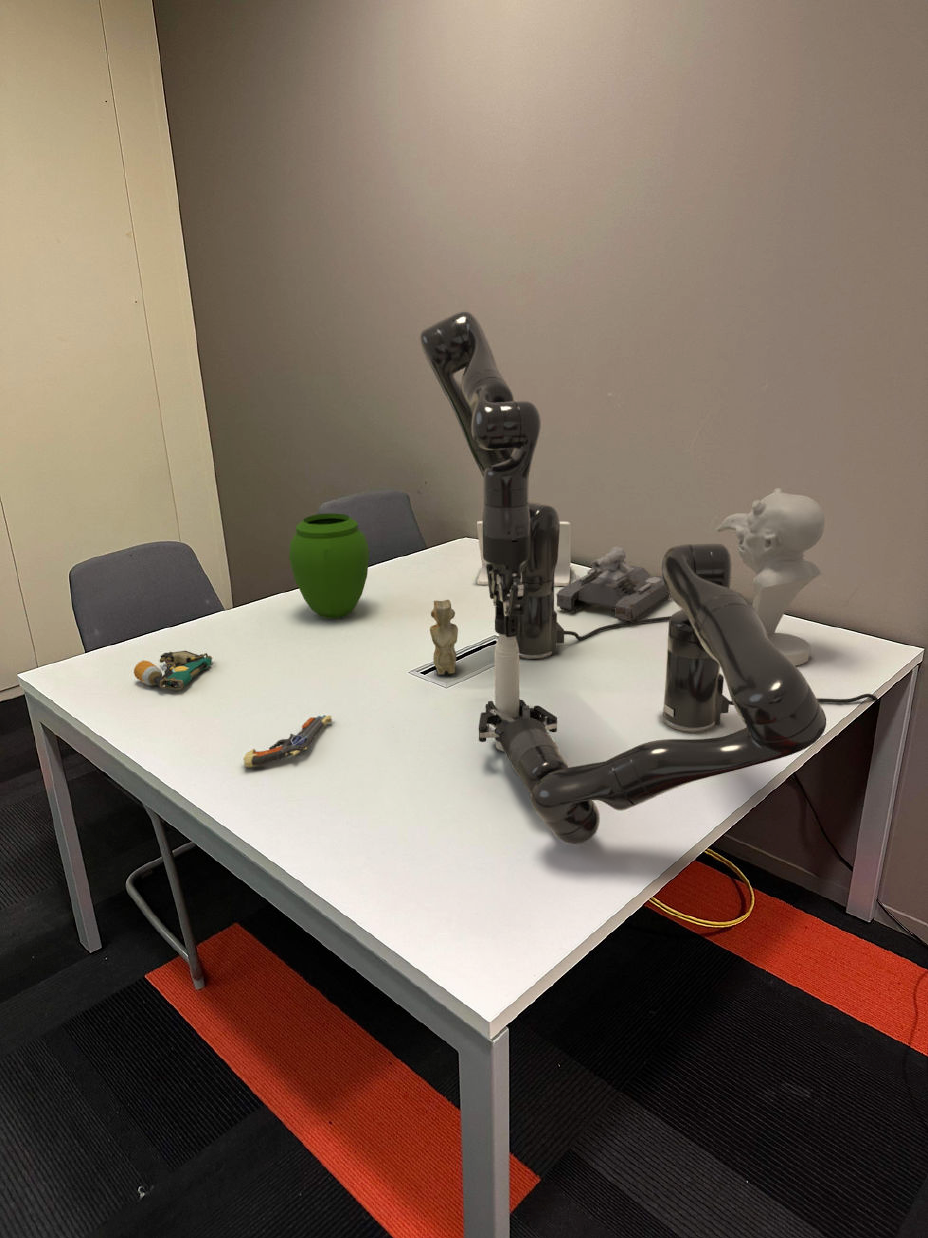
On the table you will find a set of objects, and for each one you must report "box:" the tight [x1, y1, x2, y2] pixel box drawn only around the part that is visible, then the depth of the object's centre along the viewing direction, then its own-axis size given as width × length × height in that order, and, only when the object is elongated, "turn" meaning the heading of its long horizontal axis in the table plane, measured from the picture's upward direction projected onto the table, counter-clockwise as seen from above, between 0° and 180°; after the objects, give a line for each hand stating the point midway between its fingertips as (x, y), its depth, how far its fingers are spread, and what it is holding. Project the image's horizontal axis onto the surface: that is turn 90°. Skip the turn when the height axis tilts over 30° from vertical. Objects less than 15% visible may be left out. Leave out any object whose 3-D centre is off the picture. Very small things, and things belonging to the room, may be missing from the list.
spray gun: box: [133, 650, 213, 690], centre depth 180 cm, size 4×17×15 cm
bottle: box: [494, 634, 520, 752], centre depth 145 cm, size 4×4×24 cm
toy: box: [556, 546, 671, 623], centre depth 212 cm, size 25×20×15 cm
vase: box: [288, 512, 370, 620], centre depth 209 cm, size 20×20×24 cm
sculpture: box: [429, 599, 459, 675], centre depth 177 cm, size 6×7×15 cm
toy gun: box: [243, 714, 333, 769], centre depth 151 cm, size 3×19×10 cm
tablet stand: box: [476, 520, 572, 587], centre depth 236 cm, size 18×25×17 cm
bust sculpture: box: [715, 487, 826, 667], centre depth 180 cm, size 16×24×35 cm
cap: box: [494, 613, 519, 635], centre depth 141 cm, size 4×4×2 cm
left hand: (506, 631), depth 141 cm, fingers closed on cap, 3 cm apart
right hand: (503, 704), depth 149 cm, fingers closed on bottle, 4 cm apart
